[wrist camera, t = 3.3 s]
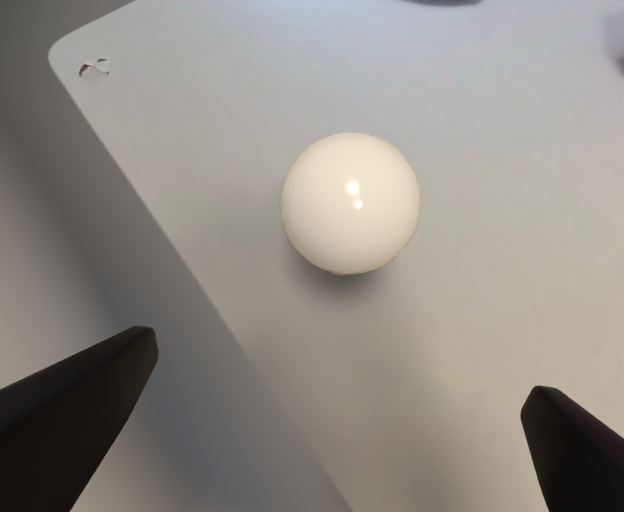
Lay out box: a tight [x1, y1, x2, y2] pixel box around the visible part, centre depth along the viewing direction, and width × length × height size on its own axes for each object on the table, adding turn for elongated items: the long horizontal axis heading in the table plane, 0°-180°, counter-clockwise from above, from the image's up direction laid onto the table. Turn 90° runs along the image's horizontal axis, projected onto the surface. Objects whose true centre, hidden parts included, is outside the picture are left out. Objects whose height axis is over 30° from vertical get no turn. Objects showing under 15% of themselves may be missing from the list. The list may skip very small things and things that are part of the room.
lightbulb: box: [280, 132, 421, 275], centre depth 17 cm, size 6×6×11 cm
